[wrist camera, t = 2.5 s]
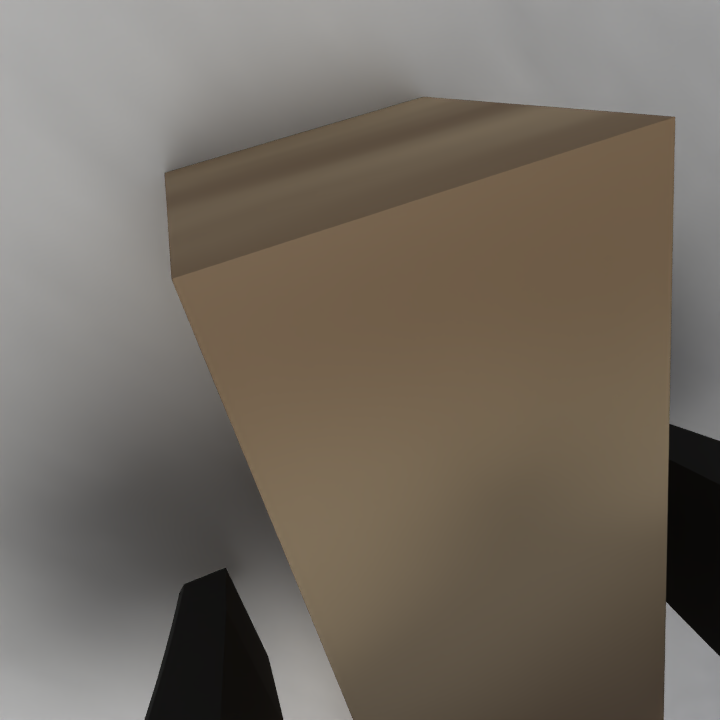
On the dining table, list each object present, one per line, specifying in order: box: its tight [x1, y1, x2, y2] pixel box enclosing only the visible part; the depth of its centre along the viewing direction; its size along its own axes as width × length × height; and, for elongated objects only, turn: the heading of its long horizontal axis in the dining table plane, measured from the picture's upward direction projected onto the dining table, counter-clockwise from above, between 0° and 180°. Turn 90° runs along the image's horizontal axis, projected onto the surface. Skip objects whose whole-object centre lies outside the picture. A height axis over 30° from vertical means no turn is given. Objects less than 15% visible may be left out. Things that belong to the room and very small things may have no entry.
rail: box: [165, 97, 675, 720], centre depth 10 cm, size 16×4×4 cm, turn 13°
